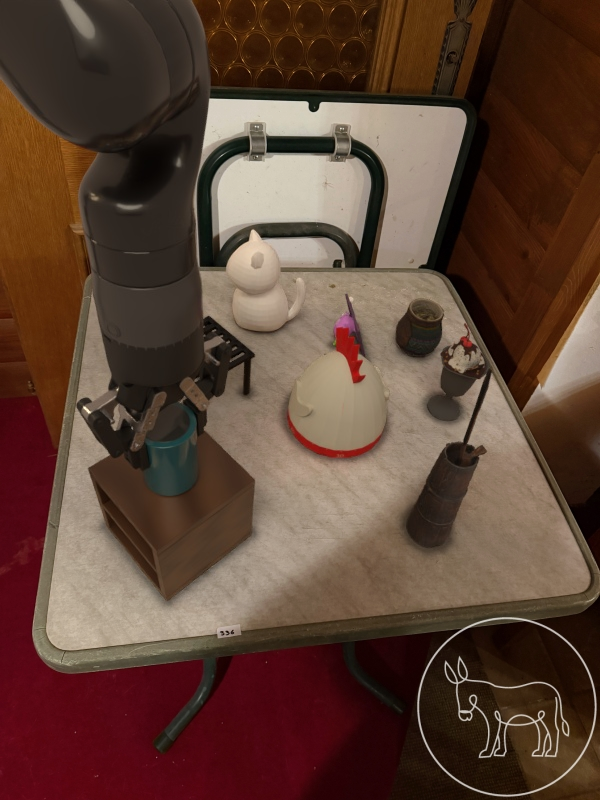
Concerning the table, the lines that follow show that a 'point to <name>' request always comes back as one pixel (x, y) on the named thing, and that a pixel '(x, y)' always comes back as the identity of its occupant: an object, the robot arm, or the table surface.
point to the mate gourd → (420, 327)
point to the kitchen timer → (339, 402)
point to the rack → (233, 342)
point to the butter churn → (446, 485)
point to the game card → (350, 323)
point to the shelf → (177, 516)
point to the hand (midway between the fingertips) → (167, 446)
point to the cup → (172, 451)
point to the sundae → (457, 376)
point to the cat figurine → (260, 287)
